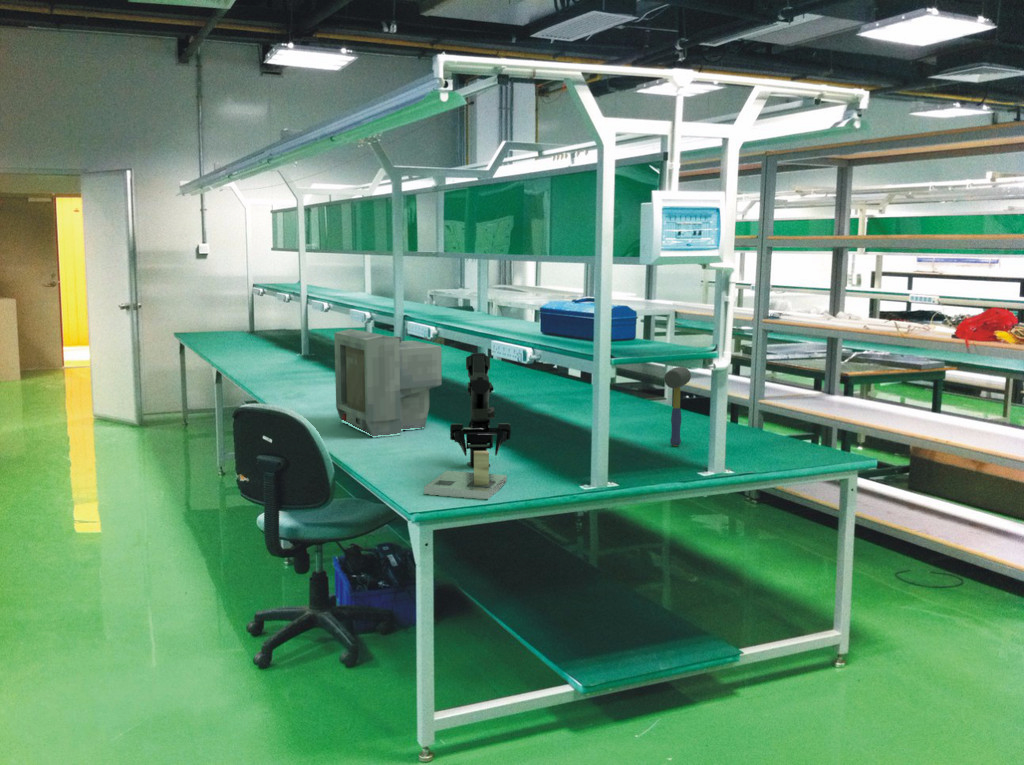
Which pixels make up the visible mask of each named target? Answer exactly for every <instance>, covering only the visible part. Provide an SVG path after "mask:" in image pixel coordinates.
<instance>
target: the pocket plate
mask: <svg viewBox="0 0 1024 765" xmlns="http://www.w3.org/2000/svg"><path fill="white" fill-rule="evenodd" d="M507 479H508V476H507V474H496V473H495V474H494V473H489V485H474V472H467V471H453V470H446V471H444V472H443V473H442V474H440V475H439V476H437V477H436V478H434V479H433V480H431V481H430V482H429V483H427V484H426V485H425V486H424V490H423V491H424V493H423V494H429V495H428V496H435V495H439V497H447V496H450V497H449V498H460V497H464V498H463V499H472V498H476V500H484V499H489V498H490V497H491V496H492V495H493V494H494V493H495V494H496V493H498V492H499V491H500V490H501V489H502V488H503V487H504V486H505V485H506V484H507V483H506V482H508V480H507ZM505 483H506V484H505ZM504 484H505V485H504ZM503 485H504V486H503ZM502 486H503V487H502ZM501 487H502V488H501ZM500 488H501V489H500ZM495 494H494V495H495ZM494 495H493V496H494ZM493 496H492V497H493ZM492 497H491V498H492ZM491 498H490V499H491ZM490 499H489V500H490Z"/></svg>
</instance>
